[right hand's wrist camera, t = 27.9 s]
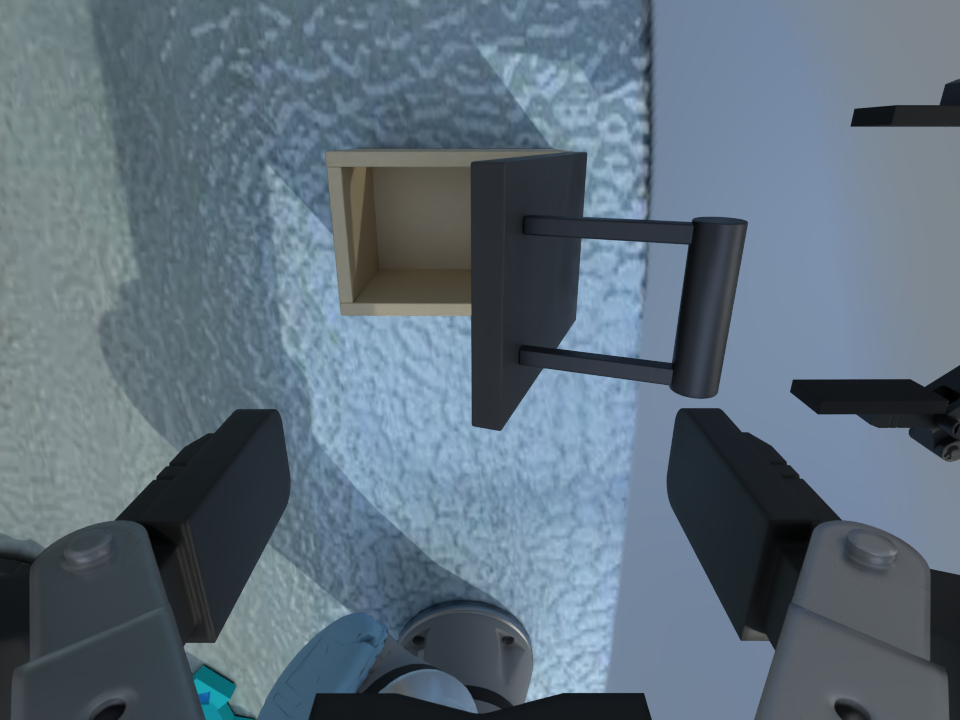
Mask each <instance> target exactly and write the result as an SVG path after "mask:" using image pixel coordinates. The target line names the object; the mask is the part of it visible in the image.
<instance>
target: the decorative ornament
mask: <svg viewBox="0 0 960 720" xmlns="http://www.w3.org/2000/svg"><path fill="white" fill-rule="evenodd" d="M193 680H194V683H195V686H196V689H197V693H198V696H199V699H200V702H201V706H202V709H203V712H204V715H205V719H206V720H254V719H248V718H243V717H237V716H234V714H233V712H232V711H231V709H230V707H229V705H228V704H227V701H229V700H230V699H231V696H232V694H233V692H234V690H235V687H236V685H234V684H233V683H231V682H229V681H228V680H226V679H225V678H223V677H221V676H220V675H218V674H216V673H215V672H213V671H212V670H210V669H208V668H207V667H205V666H202V667H201V668H200V669H199V670H198V671H197V672H196V673H195V674H194V675H193Z"/></svg>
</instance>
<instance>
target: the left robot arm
mask: <svg viewBox="0 0 960 720" xmlns="http://www.w3.org/2000/svg"><path fill="white" fill-rule="evenodd" d="M859 126H861V127H960V79H958V80H955V81H953V82H950V83H948V84H945V88H944V91H943V95H942V98H941V102H940V105H894V106H882V107H871V108H859V109H854V114H853V118H852V122H851V127H859ZM790 392H791V393H792V394H793V395H795V396H796V397H797V398H798V399H800V400H801V401H802V402H803V403H805V404H806V405H807V406H808V407H810V408H811V409H812V410H813V411H815V412H816V413H817V414H856V415H858V416H859V417H861V418H862V419H864V420H865V421H866V422H868V423H869V424H870V425H873V426H875V427H878V428H889V427H890V428H896V427H898V428H910V429H909V435H910V437H911V438H913V439H914V440H916V441H917V442H918V443H920V444H921V445H923V446H924V447H926V448H927V449H929V450H930V451H932V452H933V453H935V454H936V455H938V456H939V457H941V458H942V459H944V460H945V461H949V462H951V461H956V460H958V459H960V365H959V366H958V367H956V368H955V369H953V370H951V371H950V372H948V373H947V374H945V375H943V376H942V377H940V378H939V379H937V380H935V381H934V382H932V383H931V384H929V385H927V386H926V387H923V386H922V385H920V384H918V383H916V382H914V381H912V380H911V379H857V380H856V379H849V380H848V379H847V380H793V382H792V386H791V390H790ZM532 670H533V654H532V645H531V641H530V638H529V635H528V633H527V631H526V630H525V628H524V627H523V626H522V624H521V623H520V622H519V621H518V620H517V619H515V618H514V617H513V616H512V615H510V614H509V613H507V612H505V611H504V610H502V609H500V608H497V607H495V606H492V605H489V604H485V603H480V602H473V601H454V602H447V603H442V604H439V605H436V606H433V607H430V608H428V609H426V610H424V611H422V612H421V613H419V614H418V615H416V616H415V617H414V618H412V619H411V620H410V621H409V622H408V623H407V624H406V626H405V627H404V629H403V630H402V632H401V634H400V636H399V639H398V642H397V641H396V640H395V639H394V638H393V637H392V636H391V635H390V634H389V633H388V628H387V627H386V626H385V625H384V624H380V623H379V622H377V621H376V620H375V619H374V618H373V617H371V616H370V615H368V614H365V613H353V614H349V615H347V616H344V617H342V618H340V619H338V620H336V621H334V622H333V623H331V624H330V625H329V626H328V627H326V628H325V629H323V630H322V631H321V632H319V633H318V634H317V635H316V636H315V637H314V638H313V639H311V640H310V641H309V642H308V643H307V644H306V645H305V646H304V647H303V648H302V650H301V651H300V652H299V653H298V654H297V655H296V656H295V657H294V659H293V660H292V661H291V662H290V664H289V665H288V666H287V667H286V669H285V670H284V671H283V673H282V674H281V676H280V677H279V679H278V680H277V682H276V683H275V685H274V686H273V688H272V689H271V691H270V693H269V695H268V697H267V699H266V700H265V703H264V706H263V707H262V709H261V711H260V713H259V716H258V719H257V720H308V719H309V716H310V712H311V709H312V705H313V702H314V699H315V695H316V693H398V694H402V695H406V696H410V697H414V698H417V699H421V700H425V701H429V702H433V703H437V704H440V705H444V706H448V707H452V708H456V709H460V710H464V711H467V712H472V713H488V712H493V711H496V710H500V709H504V708H508V707H512V706H516V705H520V704H523V703H525V699H526V695H527V692H528V688H529V684H530V680H531V676H532Z"/></svg>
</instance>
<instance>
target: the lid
mask: <svg viewBox="0 0 960 720" xmlns="http://www.w3.org/2000/svg"><path fill="white" fill-rule="evenodd" d="M586 164H587V153H586V152H562V153H552V154H542V155H532V156H522V157H512V158H502V159H492V160H482V161H473V162H471V353H472V426H475V427H481V428H486V429H492V430H498V431H501V430H502V429H503V427H504V426H505V424H506V423H507V421H508V420H509V418H510V417H511V415H512V414H513V412H514V411H515V409H516V408H517V406H518V405H519V403H520V402H521V400H522V399H523V397H524V396H525V394H526V393H527V391H528V390H529V388H530V387H531V385H532V384H533V383H534V381H535V380H536V378H537V377H538V375H539V374H540V372H541V371H542V369H543V368H547V369H554V370H562V371H569V372H576V373H584V374H591V375H598V376H606V377H613V378H620V379H627V380H635V381H642V382H650V383H657V384H664V385H669V387H670V389H671V390H672V391H674V392H675V393H677V394H679V395H682V396H686V397H690V398H699V399H704V398H711V397H714V396H715V395H716V394H717V393H718V388H719V383H720V377H721V372H722V366H723V360H724V355H725V349H726V343H727V338H728V332H729V326H730V321H731V315H732V310H733V304H734V299H735V293H736V287H737V282H738V276H739V270H740V265H741V259H742V254H743V248H744V242H745V237H746V231H747V226H748V222H747V221H745V220H742V219H736V218H727V217H698V218H694V219H693V220H692V222H677V221H656V220H635V219H613V218H592V217H583V207H584V193H585V178H586ZM581 238H586V239H603V240H620V241H637V242H654V243H671V244H688V245H689V246H688V253H687V260H686V268H685V275H684V282H683V289H682V296H681V303H680V310H679V317H678V324H677V331H676V338H675V346H674V353H673V360H672V363H666V362H658V361H650V360H642V359H634V358H626V357H618V356H610V355H602V354H594V353H586V352H578V351H570V350H562V349H556V348H557V347H558V345H559V344H560V342H561V341H562V339H563V338H564V336H565V335H566V334H567V332H568V331H569V329H570V328H571V326H572V325H573V323H574V322H575V320H576V309H577V294H578V280H579V265H580V251H581Z"/></svg>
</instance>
